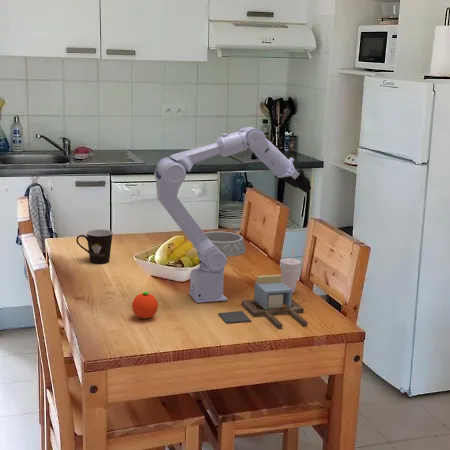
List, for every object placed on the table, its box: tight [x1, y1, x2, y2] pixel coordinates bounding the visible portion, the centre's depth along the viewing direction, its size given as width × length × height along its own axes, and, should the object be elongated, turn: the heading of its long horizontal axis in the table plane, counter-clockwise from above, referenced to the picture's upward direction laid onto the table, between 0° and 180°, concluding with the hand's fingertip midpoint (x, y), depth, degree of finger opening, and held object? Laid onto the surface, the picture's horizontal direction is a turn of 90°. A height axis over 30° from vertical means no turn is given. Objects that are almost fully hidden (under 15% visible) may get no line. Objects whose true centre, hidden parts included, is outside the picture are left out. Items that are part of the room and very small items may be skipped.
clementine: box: [131, 291, 159, 320], centre depth 190 cm, size 8×7×7 cm
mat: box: [218, 310, 252, 325], centre depth 193 cm, size 7×7×1 cm
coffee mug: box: [75, 229, 114, 265], centre depth 237 cm, size 12×9×10 cm
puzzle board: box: [241, 298, 308, 330], centre depth 197 cm, size 15×20×1 cm
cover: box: [253, 273, 293, 309], centre depth 200 cm, size 8×8×7 cm
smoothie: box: [279, 247, 302, 294], centre depth 214 cm, size 6×6×14 cm
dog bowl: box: [204, 230, 246, 258], centre depth 257 cm, size 17×18×5 cm
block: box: [267, 293, 284, 309], centre depth 200 cm, size 4×4×5 cm
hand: (303, 187), depth 209 cm, fingers open, 7 cm apart
